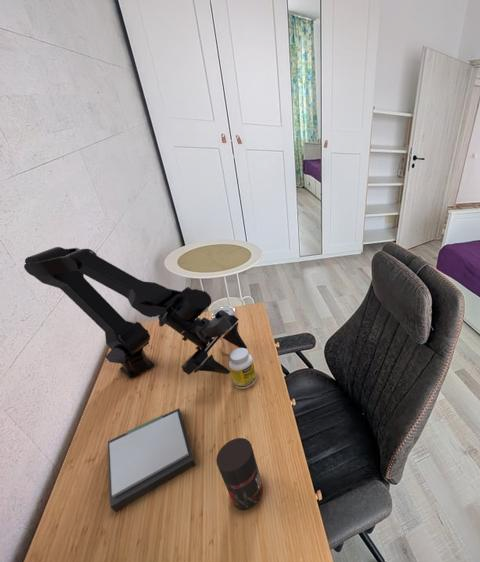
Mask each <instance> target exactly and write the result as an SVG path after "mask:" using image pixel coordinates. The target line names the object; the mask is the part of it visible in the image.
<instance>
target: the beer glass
mask: <svg viewBox="0 0 480 562" xmlns="http://www.w3.org/2000/svg"><path fill="white" fill-rule="evenodd" d="M220 310H223V311H225V312H227V313H228V314H229V315H234V316H235V317H236V318H238V316H237V314H236V310H235V308H234V307H232V306H228V305H224V306H219V307H217V308H214V309H213V311H211V312H210V317H211V320H213V319H214V318H215V314H216V313H217V312H218V311H220ZM237 323H238V324H239V320H238V321H237V322H236V323H235V324H237ZM237 331H238V332H239V325H238V326H237ZM223 336H224V335H222V336H221V337H220V338H219V339H218V340H219V341H220V343H221V344H220V345H221V352H222V353H223V355H227V356H230V354H231V352H232V351H233V350H235V349H238V348H239V347H237V346H235V345H234V344H232V343H230V342H228V341H227V340H225V339H223V338H222V337H223Z"/></svg>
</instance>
